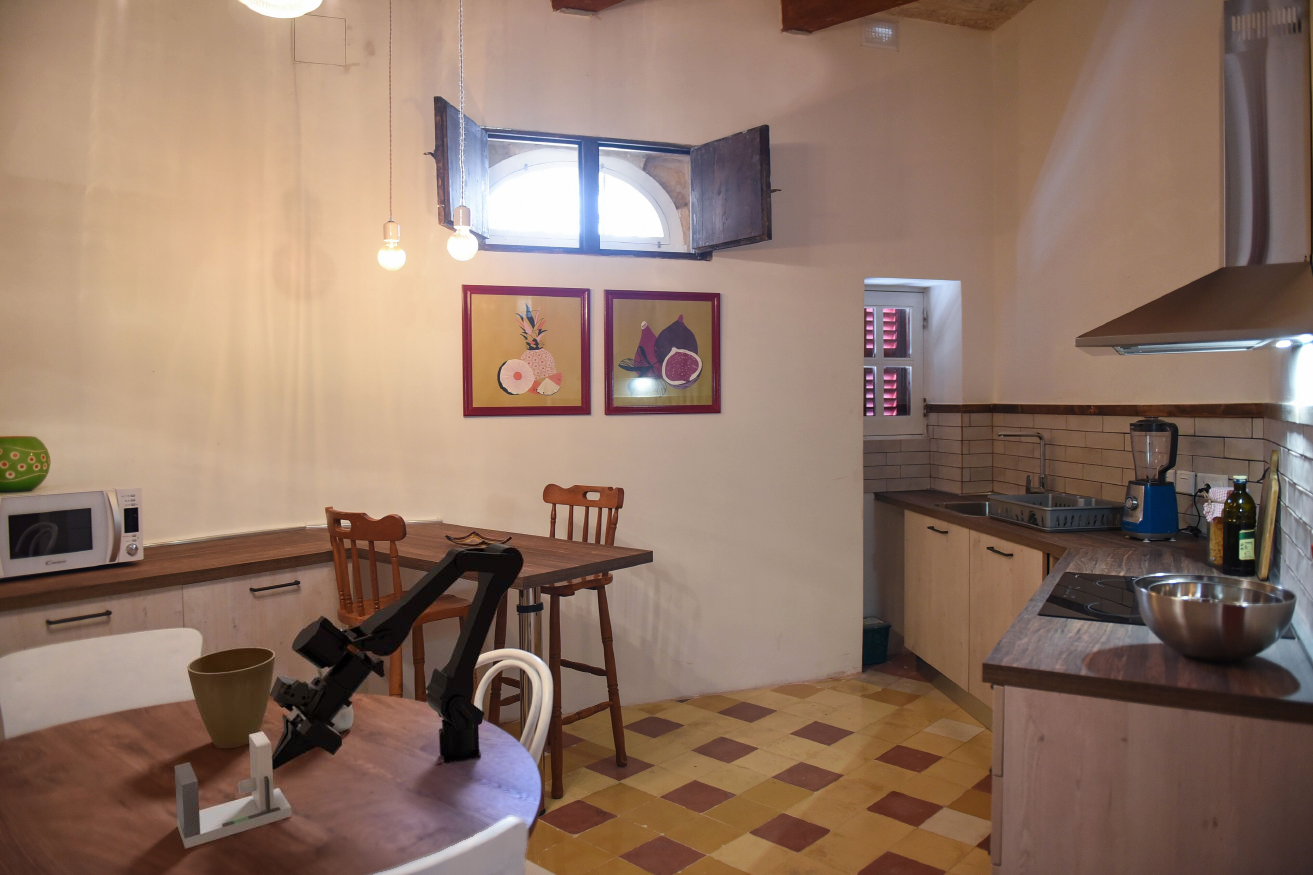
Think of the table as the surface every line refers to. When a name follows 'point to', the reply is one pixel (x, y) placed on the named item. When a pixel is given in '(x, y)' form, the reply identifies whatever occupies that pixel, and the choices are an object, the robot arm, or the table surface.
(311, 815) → the table surface
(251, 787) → the cream upright slab
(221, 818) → the base
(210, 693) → the plant pot
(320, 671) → the plastic bottle
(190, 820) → the brushed steel plate
